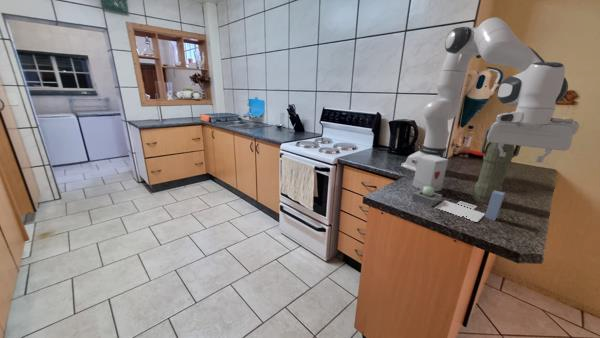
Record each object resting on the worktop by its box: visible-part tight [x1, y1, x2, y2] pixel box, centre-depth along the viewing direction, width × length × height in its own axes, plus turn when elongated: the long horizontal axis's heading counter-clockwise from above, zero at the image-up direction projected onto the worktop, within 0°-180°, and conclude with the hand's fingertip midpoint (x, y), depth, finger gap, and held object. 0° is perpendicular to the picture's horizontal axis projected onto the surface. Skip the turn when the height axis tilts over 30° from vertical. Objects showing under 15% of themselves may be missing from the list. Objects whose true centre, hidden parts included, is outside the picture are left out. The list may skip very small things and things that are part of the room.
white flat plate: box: [434, 200, 486, 223], centre depth 92 cm, size 14×10×1 cm
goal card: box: [456, 200, 478, 210], centre depth 97 cm, size 6×4×1 cm, turn 39°
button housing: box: [411, 189, 443, 207], centre depth 100 cm, size 8×8×3 cm
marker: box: [484, 190, 506, 221], centre depth 86 cm, size 3×3×10 cm
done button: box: [422, 186, 435, 198], centre depth 99 cm, size 4×4×4 cm
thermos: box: [471, 120, 522, 206], centre depth 96 cm, size 9×12×35 cm
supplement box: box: [412, 155, 449, 193], centre depth 111 cm, size 9×9×15 cm
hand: (520, 159), depth 81 cm, fingers open, 8 cm apart
